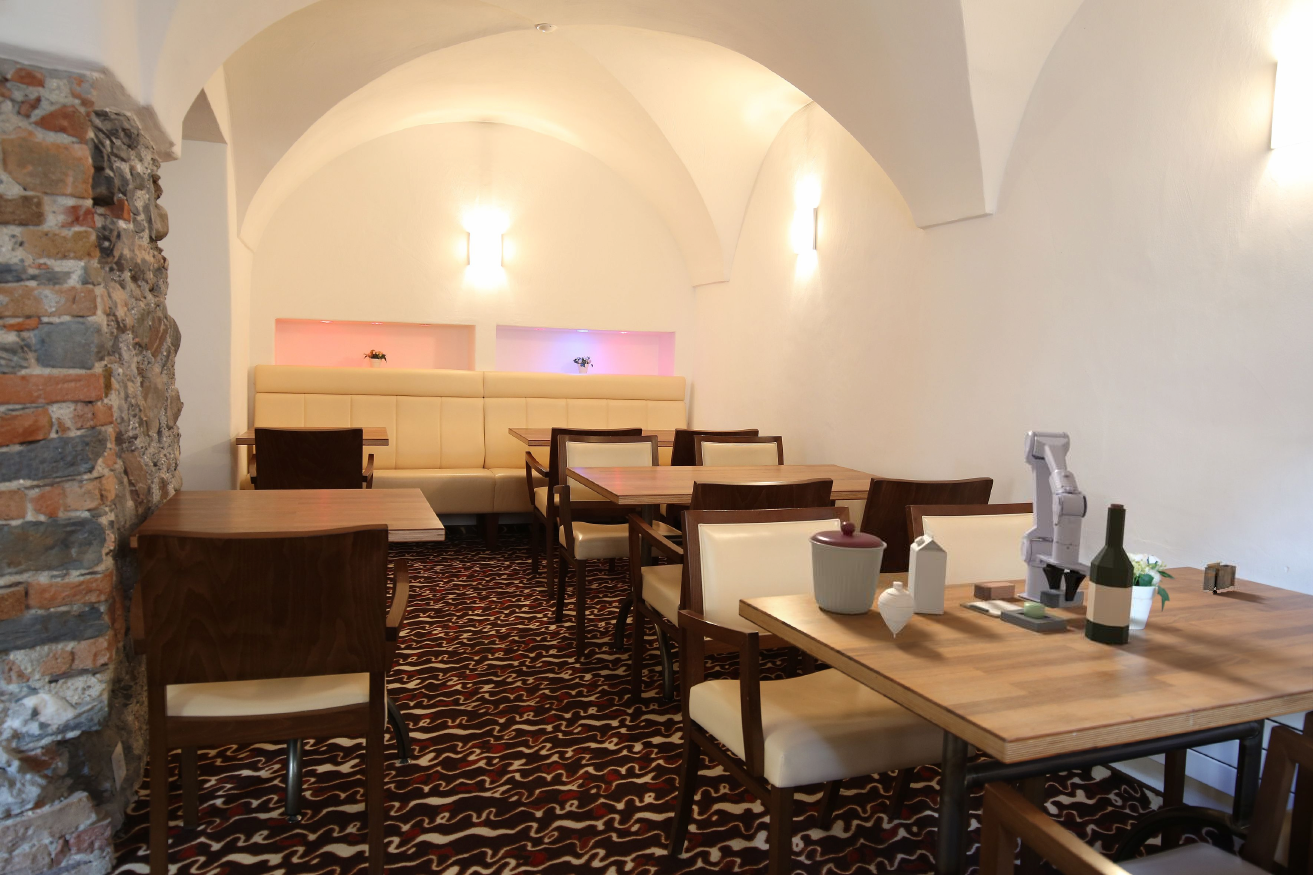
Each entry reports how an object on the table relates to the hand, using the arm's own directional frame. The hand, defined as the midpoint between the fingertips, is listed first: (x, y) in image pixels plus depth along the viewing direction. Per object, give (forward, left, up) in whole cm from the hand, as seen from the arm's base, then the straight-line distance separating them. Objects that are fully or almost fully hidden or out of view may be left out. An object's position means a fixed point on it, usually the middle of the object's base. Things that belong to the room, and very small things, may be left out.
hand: (1061, 598), depth 196 cm
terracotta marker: (+1, -19, -5) cm, 19 cm away
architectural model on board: (-71, -4, -5) cm, 71 cm away
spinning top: (+52, 0, -5) cm, 52 cm away
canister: (+48, -22, -5) cm, 53 cm away
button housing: (+12, +2, -4) cm, 13 cm away
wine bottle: (+6, +16, -5) cm, 18 cm away
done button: (+12, +2, -3) cm, 13 cm away
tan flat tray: (+10, -10, -4) cm, 15 cm away
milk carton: (+29, -15, -5) cm, 33 cm away
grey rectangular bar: (0, 0, -2) cm, 2 cm away
